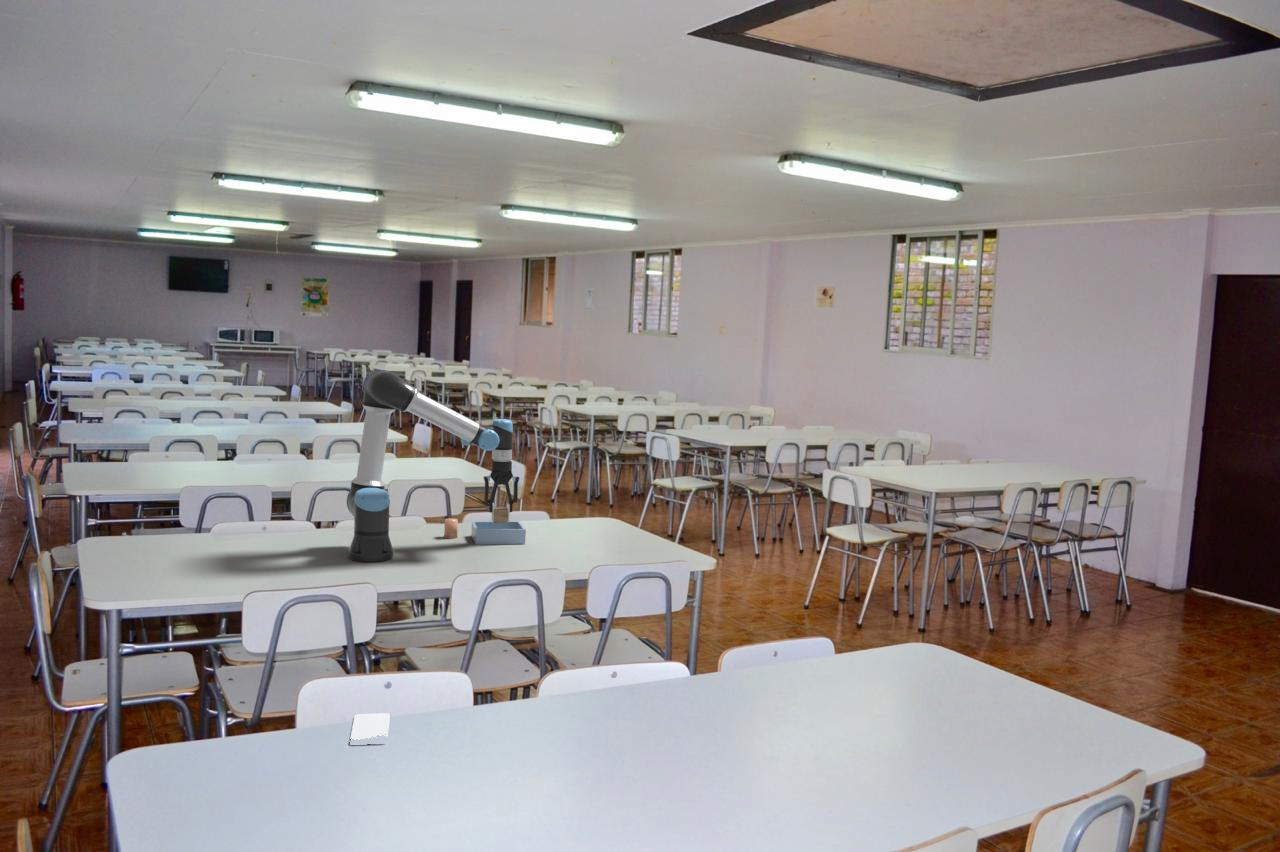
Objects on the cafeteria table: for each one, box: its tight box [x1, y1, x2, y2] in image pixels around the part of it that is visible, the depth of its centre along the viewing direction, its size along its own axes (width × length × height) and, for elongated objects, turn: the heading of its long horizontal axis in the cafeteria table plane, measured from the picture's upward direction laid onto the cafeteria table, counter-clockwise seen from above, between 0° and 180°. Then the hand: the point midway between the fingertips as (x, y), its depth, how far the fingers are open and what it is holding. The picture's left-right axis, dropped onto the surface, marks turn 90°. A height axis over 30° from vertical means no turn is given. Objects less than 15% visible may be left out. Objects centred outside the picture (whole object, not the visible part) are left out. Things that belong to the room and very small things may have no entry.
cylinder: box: [443, 517, 459, 540], centre depth 382 cm, size 5×5×7 cm
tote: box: [470, 520, 527, 546], centre depth 381 cm, size 19×16×6 cm
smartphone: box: [349, 712, 391, 740], centre depth 202 cm, size 7×1×15 cm
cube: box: [494, 507, 508, 523], centre depth 377 cm, size 5×5×5 cm
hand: (500, 520), depth 377 cm, fingers closed on cube, 5 cm apart
